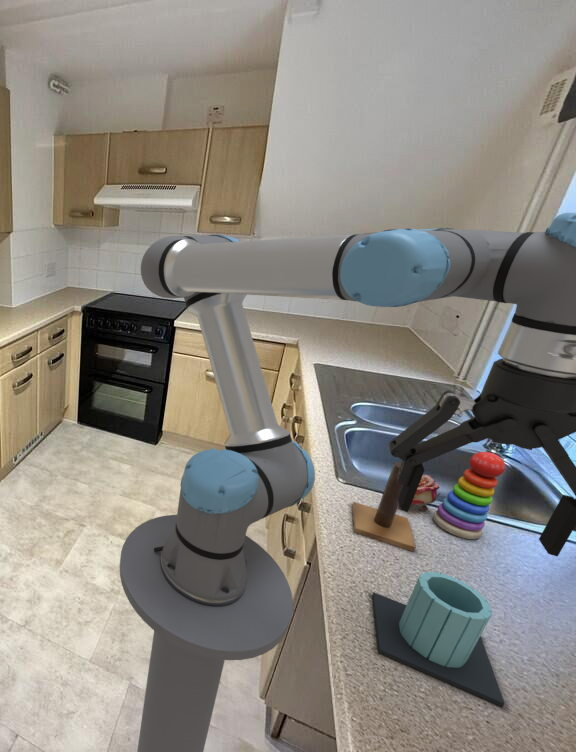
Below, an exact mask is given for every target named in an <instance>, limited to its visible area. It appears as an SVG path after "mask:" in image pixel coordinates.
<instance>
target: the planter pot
mask: <svg viewBox="0 0 576 752" xmlns="http://www.w3.org/2000/svg"><path fill="white" fill-rule="evenodd" d="M406 605H407V606H406V608H405V610H404V613H403V615H402V617H401V619H400V622H399V628H400V633H401V635H402V636H403V637H404V639H405V640H406V641H407V643H408V644H409V645H410V646H412V648H413V649H414V650H416V651H417V652H418V653H420V654H421V655H422V656H424V657H425V658H427V657H428V660H430V661H433V662H435V663H437V664H440V665H442V666H446V667H454V668H460V667H462V666H463V665H464V664H465V663H466V662H467V660H468V658H469V656H470V654H471V652H472V651H473V649H474V647H475V645H476V643H477V641H478V639H479V638H480V636H481V637H482V634H483V632H484V630H485V628H486V627H487V624H488V622H489V621H490V619H491V617H492V615H493V610H492V607H491V605H490V602H489V601H488V599H487V598H485V597H484V596H483V595H482V594H481V593H480V592H479V591H478V590H477V589H474V587H473V586H471V585H469V584H467V583H465V582H464V581H462V580H460V579H459V578H458V579H457V578H456V577H454V576H452V575H449V574H445V573H442V572H438V571H424V572H423V573H421V574H420V575H419V576H418V578H417V579H416V582H415V585H414V588H413V590H412V591H411V594H410V597H409V598H408V601H407V604H406Z"/></svg>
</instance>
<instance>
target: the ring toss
mask: <svg viewBox="0 0 576 752" xmlns="http://www.w3.org/2000/svg"><path fill="white" fill-rule="evenodd" d="M401 462H402V461H395V462H394V463H393V466H392V469H391V471H390V473H389V476H388V479H387V482H386V485H385V488H384V489H383V493H382V496H381V498H380V501H379V504H378V507H377V508H376V507H373V506H369V505H366V504H363V503H359V502H356V501H353V503H352V506H351V507H352V520H353V532H354V533H356V534H359V535H362V536H365V537H368V538H371V539H374V540H376V541H380V542H383V543H386V544H389V545H392V546H395V547H398V548H400V549H401V548H402V549H404V550H407V551H410V552H414V551H415V549H416V545H415V540H414V537H413V533H412V529H411V525H410V521H409V518H408V517H405V516H403V515H399V514H397V512H398V509H399V507H400V505H399V501H398V498H399V495H400V493H401V490H402V487H403V485H401V484H399V482H398V478H397V473H398V470H399V468H400V465H401Z"/></svg>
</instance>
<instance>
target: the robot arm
mask: <svg viewBox="0 0 576 752" xmlns="http://www.w3.org/2000/svg"><path fill="white" fill-rule="evenodd" d="M140 276H141V280H142V282H143V284H144V285H145V287H146V288H147V290H148V291H150V292H151V293H152V294H154V295H155V296H158V297H160V298H164V299H166V298H167V299H182V298H183V300H184V303H185V307H186V311H187V312H188V313H190V314H192V315H194V316H196V318H197V321H198V324H199V327H200V328H199V329H200V331H201V336H202V338H203V342H204V346H205V350H206V353H207V356H208V359H209V363H210V367H211V372H212V374H213V378H214V381H215V384H216V388H217V392H218V396H219V400H220V402H221V406H222V411H223V414H224V417H225V421H226V424H227V428H228V430H229V434H228V436H227V437H226V440H225V441H224V443H223V444H224V447H225V449H224V448H222V449H221V450H219V449H217V448H209V449H204V450H201V451H199V452H197V453H195V454H193V455H192V456H191V457H190V458H189V459H188V461H187V462H186V464H185V465H184V470H183V474H182V476H181V480H180V491H179V497H178V505H177V511H176V512H177V513H176V515H177V520H176V527H175V529H174V530H173V532H172V533H171V535H170V537H169V538H168V540H167V541H166V543H165V545H164V546H161V547H156V548H154V551H155V552H160V551H162V553H161V561H160V565H161V570H162V573H163V575H164V577H165V579H166V580H167V582H168V583H169V584H170V585H171V587H172V588H173V589H174V590H176V591H177V592H178V593H179V594H181V595H182V596H184V597H185V598H187V599H189V600H191V601H193V602H196V603H198V604H202V605H206V606H213V607H221V606H227V605H230V604H233V603H235V602H236V601H238V600H239V599H240V598H241V597H242V596H243V594H244V592H245V589H246V584H247V568H246V563H247V561H246V560H245V558H244V553H243V545H244V540H245V536H247V531H248V528H249V527H250V526H251V525H252V524H254V523H256V522H259V521H260V520H263V519H264V518H267V517H269V516H271V515H273V514H275V513H278V512H280V511H282V510H284V509H286V508H287V509H288V508H290V507H293V506H295V505H296V504H298V503H299V502H300V501H301V500H303V499H304V498H306V497H307V496H308V495H309V494H310V492H311V491H312V489H313V487H314V485H315V481H316V480H315V479H316V471H315V466H314V462H313V460H312V458H311V456H310V454H309V453H308V451H307V450H306V449H304V448H302V446H301V444H299V443H298V442H297V441H294V440H293V439H292V436H291V433H290V431H289V430H288V429H286V428H284V427H283V426H281V425H279V423H278V421H277V417H276V414H275V410H274V406H273V402H272V401H271V397H270V393H269V389H268V386H267V384H266V380H265V377H264V373H263V370H262V367H261V364H260V359H259V355H258V353H257V349H256V346H255V343H254V339H253V336H252V332H251V329H250V326H249V322H248V319H247V316H246V312H245V309H244V305H243V304H244V303H243V302H244V301H245V299H246V297H247V295H249V296H250V295H251V296H263V297H264V296H265V297H267V296H268V297H283V298H285V297H286V298H299V299H301V298H302V299H315V300H316V299H318V300H319V299H320V300H333V301H334V300H336V301H337V300H338V301H349V302H358V303H360V304H363V305H365V306H370V307H377V308H378V307H379V308H400V307H405V306H409V305H412V304H415V303H420V302H427V301H433V300H439V299H445V298H452V297H457V298H465V299H474V300H480V301H481V300H482V301H489V302H495V303H496V302H497V303H503V304H514V305H516V307H515V311H514V313H513V315H512V318H511V321H510V323H509V326H508V328H507V330H506V332H505V335H504V337H503V340H502V341H501V344H500V345H499V348H498V350H497V354H498V356H500V357H501V358H499V359H497V360H495V361H494V362H493V364H492V366H491V368H490V371H489V373H488V375H487V377H486V380H485V382H484V385H483V387H482V389H481V392H480V394H479V395H478V396H477V397H476V398H474V399H471V398H469V397H468V398H467V397H465V396H460V395H457V394H456V393H455V392H454V391H453V390H445V391H443V392H442V394H441V395H440V397H439V399H438V400H437V403H436V404H435V405H434V406H433V407H432V408H430V410H428V411H427V412H425V413H424V414H423V415H422V416H420V417H419V418H418V419H417V420H415V421H414V422H413V423H412V424H410V425H409V426H408V427H407V428H405V429H404V430H403V431H402V432H401V433H399V434H398V435H396V436H395V437H394V438H392V440H390V441H389V442H388V447H389V452H390V455H391V456H392V457H394V458H398V459H400V460H401V461H400V462H401V465H400V468H399V470H398V473H397V478H398V482H399V484H401V485H403V487H402V490H401V493H400V495H399V498H398V501H399V509H400V511H401V512H405V513H409V511H410V508H411V506H412V504H411V503H412V501H413V498H414V496H415V493H416V491H417V488H418V486H419V483H420V480H421V478H422V476H423V475H424V473H425V468H424V465H423V463H427V462H428V461H430V460H433V459H436V458H438V457H440V456H443V455H446V454H447V453H451V452H452V451H454V450H457V449H459V448H461V447H464V446H467V445H468V444H471V443H480V442H482V441H484V440H487V439H489V440H491V441H492V442H493V443H495V444H499V445H513V446H516V447H518V448H521V449H524V450H528V451H532V450H533V449H540V448H542V449H543V450H544V452H545V454H546V455H547V456H548V458H549V459H550V461H551V462H552V463H553V465H554V466H555V468H556V469H557V471H558V472H559V474H560V475H561V477H562V478H563V480H564V481H565V483H566V484H567V486H568V487H569V488H570V491H572V493H573V494H574V496H575V497H573V496H571V495H567V494H562V496H561V497H560V499H559V501H558V503H557V505H556V507H555V508H554V510H553V512H552V514H551V516H550V518H549V519H548V522H547V523H546V525H545V526H544V528H543V531H542V532H541V534H540V536H539V538H538V540H539V542H540V543H541V545H542V546H543V548H544V550H545V552H546V553H547V554H548V555H551V556H554V557H558V556H559V555H560V553H561V552H562V550H563V549H564V547H565V544H566V543H567V541H568V539H569V538H570V536H571V535H572V533H573V532H575V533H576V465H575V463H574V462H573V460H572V458H571V457H570V456H569V454H568V452H567V451H566V449H565V448H564V446H563V445H562V443H561V442H560V440H561V439H564V438H566V437H568V436H570V435H573V434H575V433H576V212H563V213H561V214H558V215H557V216H555V217H554V218H553V220H552V222H551V224H550V225H549V226H548V227H546V229H545V231H526V232H521V231H519V232H518V231H517V232H516V231H500V230H485V229H484V230H481V229H461V228H457V229H456V228H450V227H436V228H419V229H417V228H392V229H385V230H382V231H378V232H377V231H376V232H366V233H347V234H331V235H316V236H303V237H302V236H301V237H287V238H273V239H260V240H259V239H257V240H243V241H240V240H239V239H238V238H236V237H233V236H230V235H229V236H228V235H222V234H208V235H170V236H165V237H163V238H160V239H158V240H156V241H154V242H153V243H152V244H151V245H150V246H149V247H148V248H147V249H146V251H145V252H144V254H143V256H142V259H141V262H140ZM465 411H470V412H471V414H472V415H473V417H471V418H469V419H467V420H464V421H462V422H461V423H460V424H459V425H457V426H456V427H453V428H451V429H449V430H447V431H445V432H442V433H440V434H438V435H435V436H433V437H431V438H429V439H427V440H425V439H426V438H428V437H429V436H431V434H433V433H434V432H435V431H437V430H438V429H440V428H441V427H442V426H443V425H445V424H446V423H447V422H448V421H450V420H451V418H452V417H453V416H454V415H461V414H462V413H463V412H465ZM423 440H424V441H423Z"/></svg>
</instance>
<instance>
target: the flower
mask: <svg viewBox="0 0 576 752" xmlns="http://www.w3.org/2000/svg"><path fill="white" fill-rule="evenodd" d="M439 489H440V486H439V484H438V483H437V481H436V480H434V479H433V478H432V476H431V475H428V474H423V475H422V478H421V480H420V483H419V486H418V488H417V491H416V493H415V496H414V498H413V501H412V503H411V505H416V506H419V507H420V508H421V509H422V511H428V510H429V509H428V507H427V504H434V503H435V502H436V500H437V499H438V498H439V496H440V495H441V492H439V493H438V490H439Z"/></svg>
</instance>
